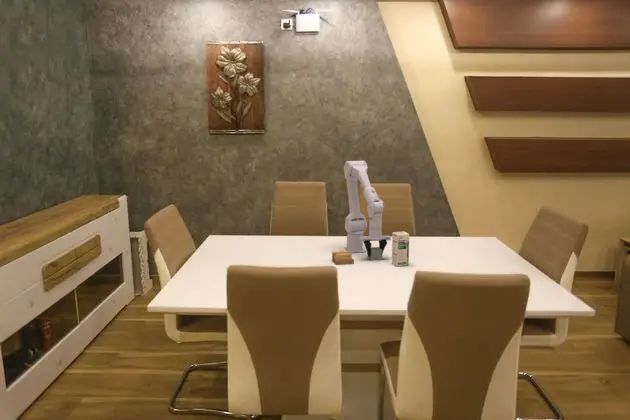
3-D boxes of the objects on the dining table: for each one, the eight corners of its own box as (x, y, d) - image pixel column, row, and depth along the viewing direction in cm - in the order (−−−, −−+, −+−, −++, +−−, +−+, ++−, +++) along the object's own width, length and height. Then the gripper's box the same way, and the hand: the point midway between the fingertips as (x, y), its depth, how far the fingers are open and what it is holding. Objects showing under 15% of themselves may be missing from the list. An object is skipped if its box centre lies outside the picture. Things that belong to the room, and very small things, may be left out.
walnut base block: (332, 261, 248) (332, 256, 248) (348, 260, 250) (348, 255, 250) (336, 266, 241) (336, 260, 240) (353, 265, 242) (354, 259, 242)
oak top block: (332, 256, 247) (332, 251, 247) (346, 255, 249) (346, 250, 249) (336, 260, 241) (336, 255, 240) (351, 259, 242) (351, 254, 242)
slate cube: (367, 258, 253) (368, 247, 252) (378, 257, 254) (378, 247, 253) (371, 260, 248) (371, 250, 247) (381, 260, 249) (382, 249, 248)
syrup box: (396, 266, 239) (397, 234, 236) (391, 263, 244) (392, 231, 242) (408, 265, 240) (409, 233, 238) (403, 262, 246) (404, 230, 243)
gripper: (363, 229, 243) (362, 259, 245) (393, 228, 246) (392, 257, 248) (358, 226, 250) (357, 255, 252) (388, 225, 253) (387, 253, 255)
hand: (374, 256), depth 251 cm, fingers closed on slate cube, 5 cm apart
